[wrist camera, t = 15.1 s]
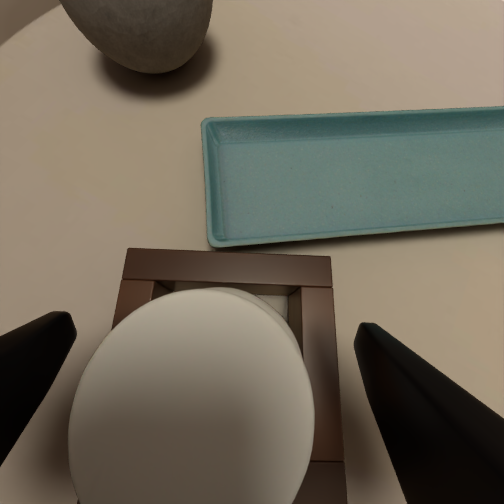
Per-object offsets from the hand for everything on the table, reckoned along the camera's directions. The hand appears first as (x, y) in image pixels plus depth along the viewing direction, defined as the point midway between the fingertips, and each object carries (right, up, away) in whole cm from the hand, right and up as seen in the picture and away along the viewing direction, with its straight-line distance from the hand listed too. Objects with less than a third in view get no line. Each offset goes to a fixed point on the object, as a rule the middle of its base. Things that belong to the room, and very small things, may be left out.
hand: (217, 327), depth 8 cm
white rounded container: (0, -4, +7) cm, 8 cm away
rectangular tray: (+11, +7, +10) cm, 17 cm away
